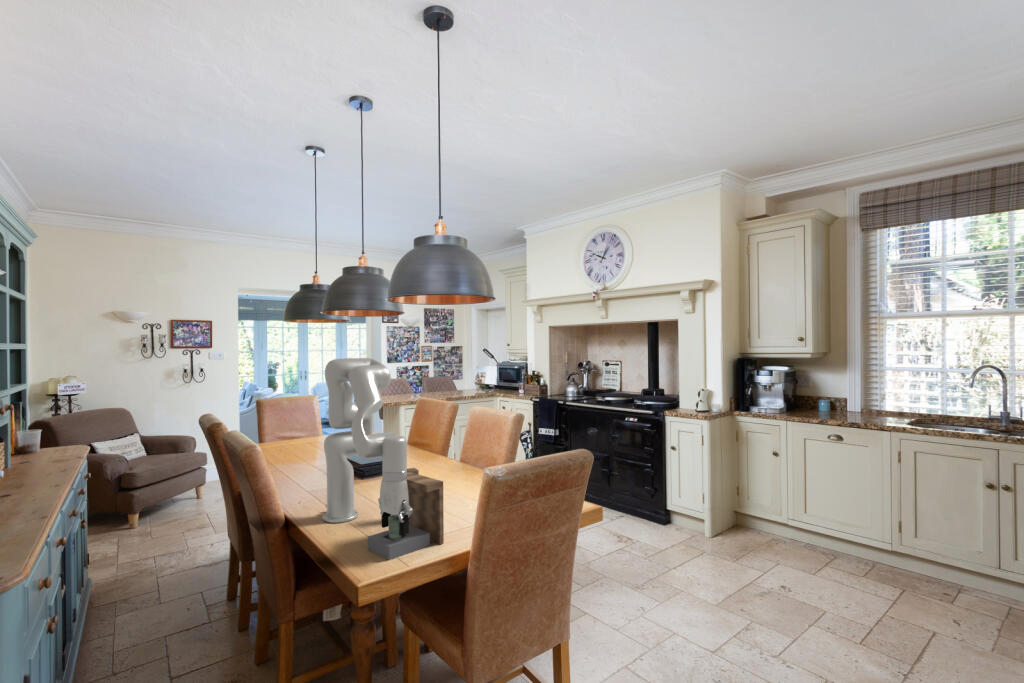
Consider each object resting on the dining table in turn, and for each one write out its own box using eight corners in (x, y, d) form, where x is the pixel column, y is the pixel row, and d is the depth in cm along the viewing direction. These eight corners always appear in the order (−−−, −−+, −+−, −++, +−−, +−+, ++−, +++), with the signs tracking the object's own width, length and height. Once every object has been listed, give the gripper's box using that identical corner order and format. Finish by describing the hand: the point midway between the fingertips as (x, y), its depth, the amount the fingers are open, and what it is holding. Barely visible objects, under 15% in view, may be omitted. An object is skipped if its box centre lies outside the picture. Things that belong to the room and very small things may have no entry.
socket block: (367, 549, 160) (367, 536, 160) (407, 535, 170) (407, 524, 170) (389, 560, 151) (389, 546, 151) (429, 545, 162) (429, 532, 162)
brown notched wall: (394, 535, 171) (394, 475, 172) (410, 529, 176) (410, 472, 176) (427, 549, 159) (427, 485, 159) (443, 543, 164) (443, 481, 164)
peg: (386, 549, 160) (385, 517, 160) (396, 545, 163) (396, 514, 163) (393, 552, 157) (393, 520, 157) (404, 548, 160) (404, 516, 160)
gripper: (369, 473, 163) (369, 526, 163) (400, 483, 151) (400, 540, 151) (389, 469, 169) (389, 520, 168) (421, 478, 157) (421, 533, 157)
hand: (395, 530), depth 160 cm, fingers open, 9 cm apart
